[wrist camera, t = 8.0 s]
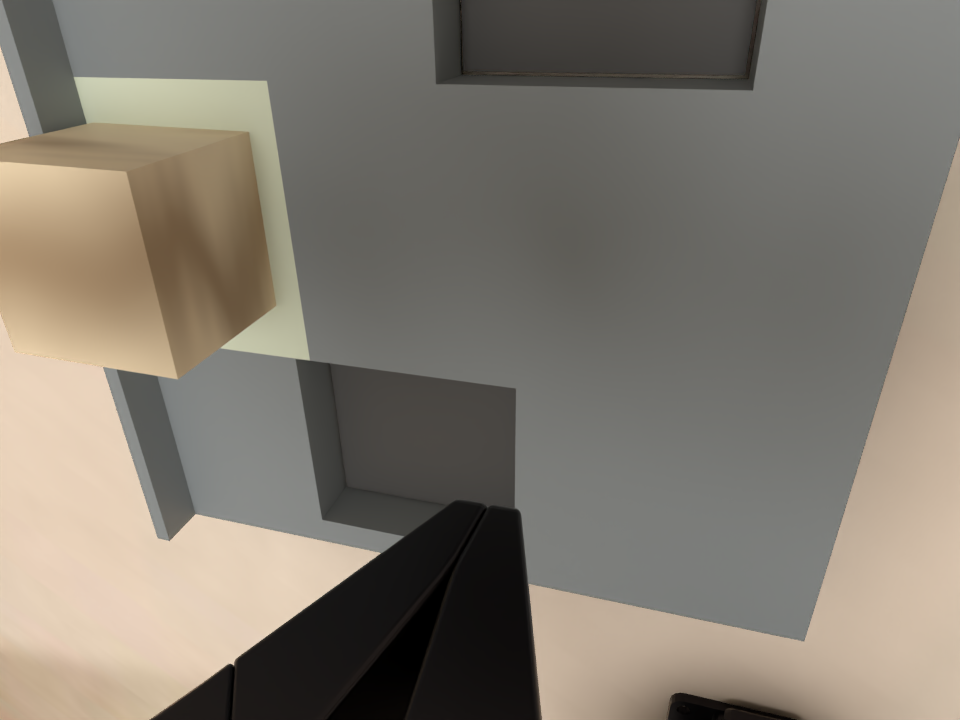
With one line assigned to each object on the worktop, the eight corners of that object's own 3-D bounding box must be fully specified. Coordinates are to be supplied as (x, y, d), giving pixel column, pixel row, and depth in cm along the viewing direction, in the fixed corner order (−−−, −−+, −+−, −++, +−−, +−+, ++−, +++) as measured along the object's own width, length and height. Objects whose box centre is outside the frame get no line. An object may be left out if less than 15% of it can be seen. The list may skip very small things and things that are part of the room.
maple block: (276, 305, 20) (178, 379, 17) (136, 287, 22) (14, 352, 18) (248, 131, 18) (126, 171, 14) (92, 122, 19) (-58, 157, 15)
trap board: (1082, -404, 11) (1213, -539, 8) (796, 591, 22) (810, 684, 19) (29, -259, 17) (-113, -310, 14) (215, 479, 28) (158, 538, 25)
